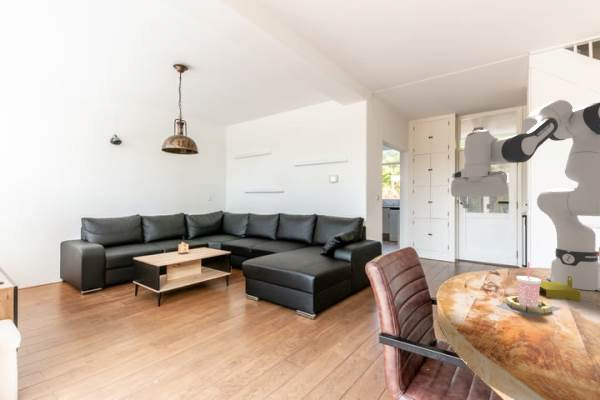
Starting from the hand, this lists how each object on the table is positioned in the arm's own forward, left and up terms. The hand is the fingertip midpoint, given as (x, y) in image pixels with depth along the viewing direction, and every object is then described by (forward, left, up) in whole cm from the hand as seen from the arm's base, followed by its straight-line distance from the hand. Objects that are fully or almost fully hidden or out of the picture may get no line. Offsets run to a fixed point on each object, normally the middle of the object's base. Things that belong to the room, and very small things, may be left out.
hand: (477, 208), depth 109 cm
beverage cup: (+6, +20, -30) cm, 37 cm away
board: (+6, +20, -31) cm, 37 cm away
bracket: (-16, +15, -32) cm, 39 cm away
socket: (+6, +20, -30) cm, 37 cm away
